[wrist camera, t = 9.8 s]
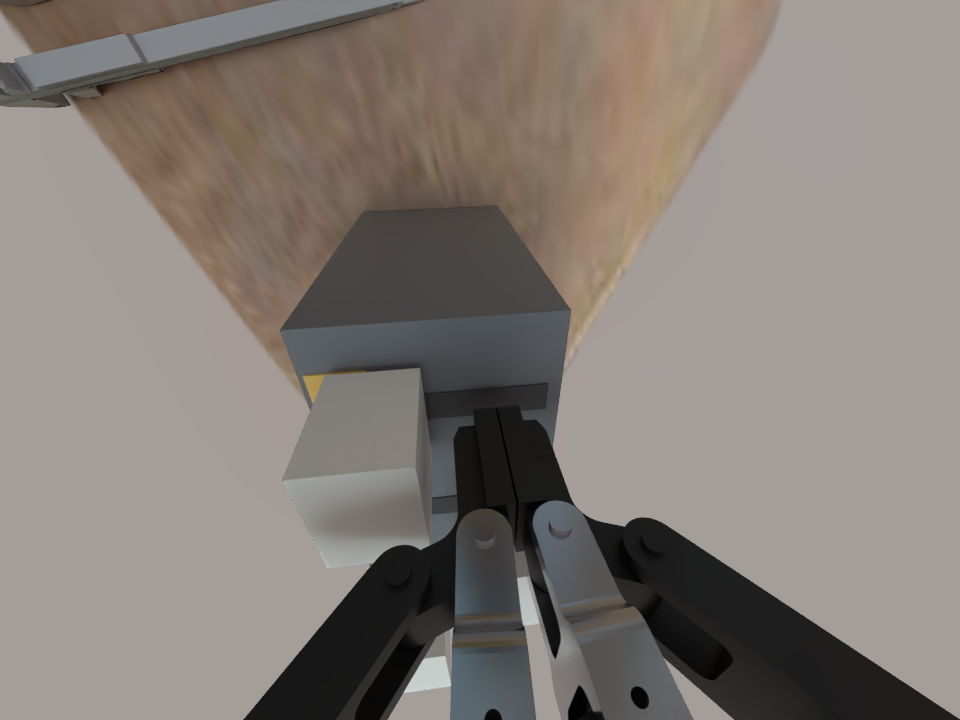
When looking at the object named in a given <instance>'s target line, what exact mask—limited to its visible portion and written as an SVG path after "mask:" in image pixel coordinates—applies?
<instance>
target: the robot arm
mask: <svg viewBox="0 0 960 720" xmlns="http://www.w3.org/2000/svg"><path fill="white" fill-rule="evenodd" d="M43 1H46V0H0V4H4V5H32V4H36V3H39V2H43ZM473 419H474V425H471V426H461V427H459V428H458V430H457V432H456V434H455V436H454V439H453V444H454V459H455V474H456V489H457V504H458V516H457V520H456V523H455V525H454V527H453V528H452V530H451V531H450V532H449V533H448V534H447V535H446V536H445V537H444V538H443V539H441V540H440V541H438V542H436V543H434V544H432V545H430V546H427V547H425V548H423V549H421V550H420V549H418V548H416V547H414V546H411V545H398V546H394V547H392V548H390V549H388V550H386V551H385V552H384V553H382V554H381V555H380V556H379V557H378V558H377V559H376V561H375V562H374V563H373V564H372V565H371V567H370V568H369V569H368V570H367V571H366V573H365V574H364V575H363V576H362V578H361V579H360V580H359V581H358V582H357V584H356V585H355V586H354V587H353V588H352V590H351V591H350V592H349V593H348V594H347V596H346V597H345V598H344V599H343V600H342V602H341V603H340V604H339V605H338V606H337V608H336V609H335V610H334V611H333V613H332V614H331V615H330V616H329V617H328V619H327V620H326V621H325V622H324V624H323V625H322V626H321V627H320V628H319V629H318V631H317V632H316V633H315V634H314V635H313V637H312V638H311V639H310V640H309V641H308V643H307V644H306V645H305V646H304V647H303V649H302V650H301V651H300V652H299V653H298V655H297V656H296V657H295V658H294V659H293V661H292V662H291V663H290V664H289V666H288V667H287V668H286V669H285V670H284V672H283V673H282V674H281V675H280V676H279V678H278V679H277V680H276V681H275V683H274V684H273V685H272V686H271V687H270V688H269V690H268V691H267V692H266V693H265V695H264V696H263V697H262V698H261V699H260V701H259V702H258V703H257V704H256V705H255V706H254V708H253V709H252V710H251V711H250V713H249V714H248V715H247V716H246V718H245V719H244V720H387V719H388V718H389V716H390V714H391V712H392V711H393V709H394V708H395V706H396V704H397V703H398V701H399V699H400V698H401V696H402V694H403V693H404V691H405V689H406V687H407V686H408V684H409V682H410V681H411V679H412V677H413V676H414V674H415V672H416V671H417V669H418V667H419V666H420V664H421V662H422V661H423V659H424V657H425V656H426V654H427V652H428V651H429V649H430V647H431V646H432V644H433V642H434V640H435V639H436V637H437V636H439V635H441V634H443V633H444V632H446V631H448V630H450V629H451V628H453V627H454V629H453V638H452V669H451V712H450V720H536V714H535V705H534V697H533V688H532V679H531V671H530V663H529V654H528V646H527V639H526V633H525V628H524V625H523V622H522V616H521V608H520V599H519V590H518V582H517V573H516V564H515V555H514V546H515V551H516V552H522V551H525V556H526V560H527V565H528V571H527V579H528V584H529V587H530V591H531V595H532V598H533V602H534V605H535V609H536V613H537V616H538V620H539V623H540V627H541V631H542V634H543V638H544V641H545V645H546V649H547V652H548V656H549V660H550V665H551V672H552V681H553V686H554V692H555V696H556V700H557V704H558V708H559V711H560V715H561V719H562V720H693V718H692V716H691V714H690V711H689V710H688V707H687V705H686V704H685V701H684V699H683V697H682V695H681V693H680V691H679V689H678V687H677V685H676V683H675V681H674V679H673V677H672V675H671V673H670V670H669V669H668V666H667V665H666V662H665V660H664V658H665V659H666V660H667V661H668V662H670V663H671V664H672V665H673V666H674V667H675V668H676V669H677V670H679V671H680V672H681V673H682V674H683V675H684V676H685V677H686V678H688V679H689V680H690V681H691V682H692V683H693V684H694V685H695V686H697V687H698V688H699V689H700V690H701V691H702V692H703V693H705V694H706V695H707V696H708V697H709V698H710V699H711V700H713V701H714V702H715V703H716V704H717V705H718V706H719V707H720V708H722V709H723V710H724V711H725V712H726V713H727V714H728V715H729V716H731V717H732V718H733V719H734V720H960V719H958V718H957V717H955V716H954V715H952V714H951V713H949V712H948V711H946V710H945V709H943V708H942V707H940V706H939V705H937V704H936V703H934V702H933V701H931V700H930V699H928V698H927V697H925V696H924V695H922V694H921V693H919V692H918V691H916V690H914V689H913V688H912V687H910V686H908V685H907V684H906V683H904V682H902V681H901V680H899V679H898V678H896V677H895V676H893V675H892V674H890V673H889V672H887V671H886V670H884V669H883V668H881V667H880V666H878V665H877V664H875V663H874V662H872V661H871V660H869V659H868V658H866V657H865V656H863V655H861V654H860V653H858V652H857V651H855V650H854V649H853V648H851V647H850V646H848V645H847V644H845V643H843V642H842V641H840V640H839V639H837V638H836V637H834V636H833V635H831V634H830V633H828V632H827V631H825V630H824V629H822V628H821V627H819V626H818V625H816V624H815V623H813V622H812V621H810V620H809V619H807V618H806V617H804V616H803V615H801V614H800V613H798V612H797V611H795V610H794V609H792V608H790V607H789V606H787V605H786V604H784V603H783V602H781V601H780V600H778V599H777V598H775V597H774V596H772V595H771V594H769V593H768V592H766V591H765V590H763V589H762V588H760V587H759V586H757V585H756V584H754V583H753V582H751V581H750V580H748V579H747V578H745V577H744V576H742V575H740V574H739V573H738V572H736V571H734V570H733V569H732V568H730V567H728V566H727V565H726V564H724V563H722V562H721V561H719V560H718V559H716V558H715V557H713V556H712V555H710V554H709V553H707V552H706V551H704V550H703V549H701V548H700V547H698V546H697V545H695V544H694V543H692V542H691V541H689V540H688V539H686V538H685V537H683V536H682V535H680V534H679V533H677V532H676V531H674V530H672V529H671V528H669V527H668V526H667V525H665V524H663V523H661V522H659V521H657V520H654V519H651V518H636V519H633V520H632V521H630V522H629V523H628V524H627V525H626V526H625V527H623V526H618V525H613V524H608V523H603V522H599V521H596V520H593V519H591V518H589V517H588V516H586V515H585V514H583V513H582V512H581V511H580V510H579V509H578V508H577V507H576V506H575V505H574V503H573V502H572V499H571V497H570V495H569V492H568V489H567V486H566V484H565V481H564V478H563V475H562V473H561V470H560V467H559V464H558V462H557V459H556V457H555V453H554V450H553V448H552V446H551V442H550V439H549V436H548V434H547V431H546V429H545V428H544V427H543V426H542V425H541V424H540V423H539V422H538V421H537V420H536V419H534V420H523V417H522V414H521V411H520V407H519V406H518V405H513V406H502V407H496V408H495V407H492V408H481V409H473ZM663 657H664V658H663Z"/></svg>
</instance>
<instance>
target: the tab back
mask: <svg viewBox="0 0 960 720" xmlns="http://www.w3.org/2000/svg"><path fill="white" fill-rule="evenodd" d="M450 659H451V658H450V630H448V631H446V632H444V633H443V634H441V635H439V636H437V637H436V639H435V640H434V642H433V644H432V646H431V647H430V649H429V651H428V652H427V654H426V656H425V657H424V659H423V661H422V662H421V664H420V666H419V667H418V669H417V671H416V672H415V674H414V676H413V677H412V679H411V681H410V682H409V684H408V686H407V687H406V689H405V691H404V693H408V692H414V691H421V690H427V689H435V688H441V687H447V686H451V661H450Z"/></svg>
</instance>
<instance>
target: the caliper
mask: <svg viewBox="0 0 960 720" xmlns="http://www.w3.org/2000/svg"><path fill="white" fill-rule="evenodd" d="M420 1H424V0H279V1H275V2H271V3H266V4H262V5H258V6H254V7H249V8H245V9H241V10H237V11H232V12H228V13H224V14H220V15H215V16H211V17H207V18H203V19H198V20H194V21H190V22H186V23H181V24H177V25H173V26H169V27H164V28H160V29H156V30H152V31H147V32H143V33H139V34H135V35H130V34H120V35H116V36H111V37H107V38H103V39H98V40H94V41H90V42H85V43H81V44H76V45H72V46H68V47H63V48H59V49H55V50H50V51H46V52H42V53H37V54H33V55H29V56H24V57H20V58H17V59H14V60H15V61H16V62H15V63H1V62H0V106H7V107H45V108H51V107H53V108H55V107H56V108H58V107H65V106H70V103H69V102H68V100H67V99H66V98H65V96H64V95H63V94H62V93H66V94H68V95H73V96H78V97H84V98H92V99H95V98H98V97H101V96H102V95H101V93H100V92H99V90H98V89H97V87H96V86H97V85H101V84H105V83H113V82H119V81H125V80H130V79H135V78H138V77H141V76H144V75H149V74H154V73H159V72H163V71H165V70H164V68H163V67H167V66H171V65H175V64H179V63H183V62H187V61H191V60H195V59H199V58H203V57H207V56H211V55H215V54H219V53H223V52H227V51H231V50H236V49H240V48H244V47H248V46H252V45H256V44H260V43H264V42H268V41H272V40H276V39H280V38H284V37H288V36H292V35H296V34H300V33H304V32H309V31H313V30H317V29H321V28H325V27H329V26H333V25H337V24H341V23H345V22H349V21H353V20H358V19H362V18H366V17H370V16H374V15H377V14H380V13H384V12H387V11H391V10H394V9H397V8H401V6H404V5H408V4H412V3H416V2H420Z"/></svg>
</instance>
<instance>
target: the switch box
mask: <svg viewBox="0 0 960 720" xmlns="http://www.w3.org/2000/svg"><path fill="white" fill-rule="evenodd" d="M570 315H571V309H570V308H569V306H568V305H567V304H566V302H565V301H564V299H563V298H562V297H561V295H560V294H559V292H558V291H557V290H556V288H555V287H554V285H553V284H552V283H551V281H550V280H549V278H548V277H547V275H546V274H545V273H544V271H543V270H542V268H541V267H540V266H539V264H538V263H537V261H536V260H535V259H534V257H533V256H532V254H531V253H530V251H529V250H528V249H527V247H526V246H525V244H524V243H523V242H522V240H521V239H520V237H519V236H518V235H517V233H516V232H515V230H514V229H513V227H512V226H511V225H510V223H509V222H508V220H507V219H506V218H505V216H504V215H503V213H502V212H501V211H500V209H499V208H498V206H483V207H460V208H438V209H416V210H394V211H371V212H363V213H362V214H361V215H360V217H359V218H358V220H357V221H356V223H355V224H354V225H353V227H352V228H351V230H350V231H349V233H348V234H347V235H346V237H345V238H344V240H343V241H342V242H341V244H340V245H339V247H338V248H337V250H336V251H335V252H334V254H333V255H332V257H331V258H330V260H329V261H328V262H327V264H326V265H325V267H324V268H323V270H322V271H321V272H320V274H319V275H318V277H317V278H316V279H315V281H314V282H313V284H312V285H311V287H310V288H309V289H308V291H307V292H306V294H305V295H304V297H303V298H302V299H301V301H300V302H299V304H298V305H297V307H296V308H295V309H294V311H293V312H292V314H291V315H290V316H289V318H288V319H287V321H286V322H285V324H284V325H283V326H282V328H281V329H280V332H281V335H282V338H283V340H284V343H285V346H286V348H287V351H288V353H289V356H290V359H291V361H292V364H293V367H294V369H295V372H296V374H297V377H298V380H299V382H300V385H301V387H302V390H303V393H304V395H305V398H306V401H307V403H308V406H309V408H310V410H311V408H312V406H313V403H314V401H315V398H316V396H317V393H318V391H319V389H320V386H321V384H322V381H323V379H324V376H325V375H337V374H350V373H362V372H375V371H387V370H400V369H413V368H420V371H421V378H422V386H423V393H424V400H425V407H426V414H427V421H428V429H429V436H430V443H431V450H432V544H434V543H436V542H438V541H440V540H441V539H443V538H444V537H445V536H446V535H447V534H448V533H449V532H450V531H451V530H452V528H453V527H454V525H455V523H456V520H457V516H458V504H457V489H456V474H455V459H454V444H453V439H454V436H455V434H456V432H457V430H458V428H459V427H461V426H471V425H474V419H473V409H481V408H492V407H495V408H496V407H502V406H513V405H518V406H519V407H520V411H521V414H522V417H523V420H534V419H536V420H537V421H538V422H539V423H540V424H541V425H542V426H543V427H544V428H545V429H546V431H547V434H548V436H549V439H550V442H551V446H552V448H553V441H554V434H555V426H556V418H557V411H558V404H559V397H560V389H561V382H562V374H563V367H564V360H565V352H566V345H567V337H568V330H569V323H570ZM372 564H373V563H371V564H369V566H370V567H371V565H372Z"/></svg>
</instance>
